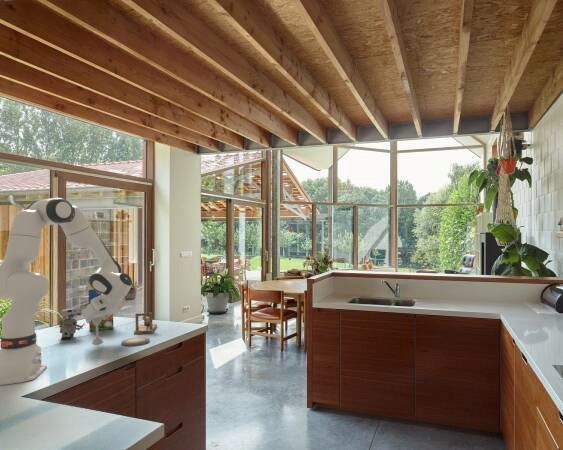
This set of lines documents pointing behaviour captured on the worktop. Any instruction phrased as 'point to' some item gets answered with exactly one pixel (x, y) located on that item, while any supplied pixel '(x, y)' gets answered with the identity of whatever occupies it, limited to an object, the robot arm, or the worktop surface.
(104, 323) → the blue food package
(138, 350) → the worktop surface
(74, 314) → the figurine
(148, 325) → the toy catapult
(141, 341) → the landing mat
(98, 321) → the chalice
